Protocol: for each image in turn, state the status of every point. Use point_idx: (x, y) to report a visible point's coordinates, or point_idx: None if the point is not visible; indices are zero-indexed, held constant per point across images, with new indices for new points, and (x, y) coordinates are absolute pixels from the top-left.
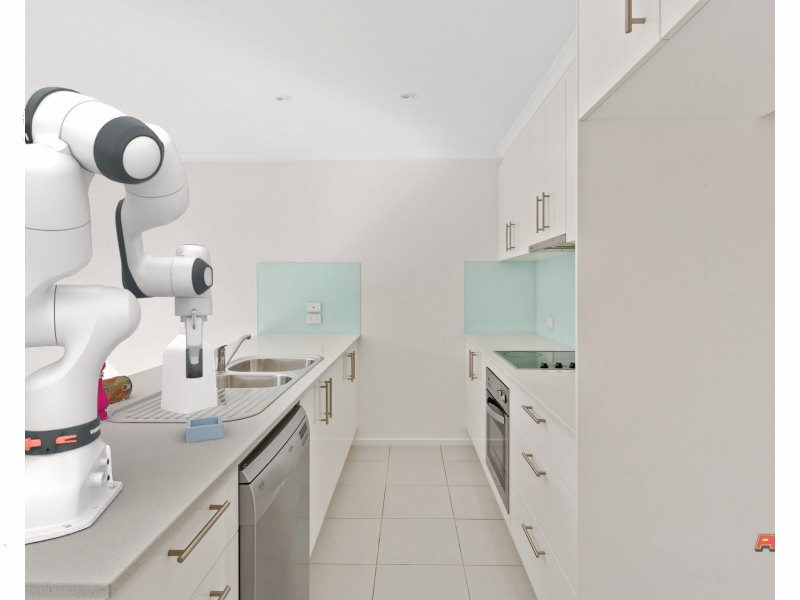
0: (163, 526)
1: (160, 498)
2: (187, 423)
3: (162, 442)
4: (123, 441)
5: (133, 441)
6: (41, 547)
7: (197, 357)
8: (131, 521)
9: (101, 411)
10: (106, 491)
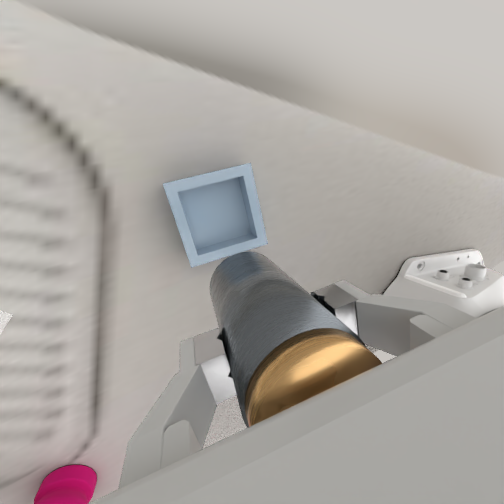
0: (499, 178)
1: (446, 202)
2: (228, 253)
3: None
4: None
5: None
6: None
7: (365, 297)
8: (478, 214)
9: (68, 489)
10: (429, 267)
